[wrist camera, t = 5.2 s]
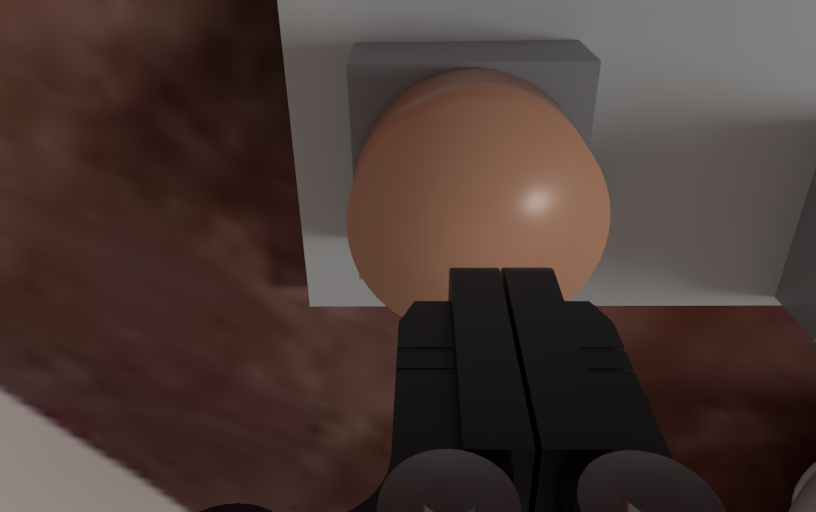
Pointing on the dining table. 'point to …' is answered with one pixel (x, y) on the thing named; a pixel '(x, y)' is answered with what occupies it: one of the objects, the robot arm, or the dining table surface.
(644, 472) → the robot arm
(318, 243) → the panel
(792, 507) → the lidded jar
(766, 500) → the dining table surface
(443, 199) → the rust button
